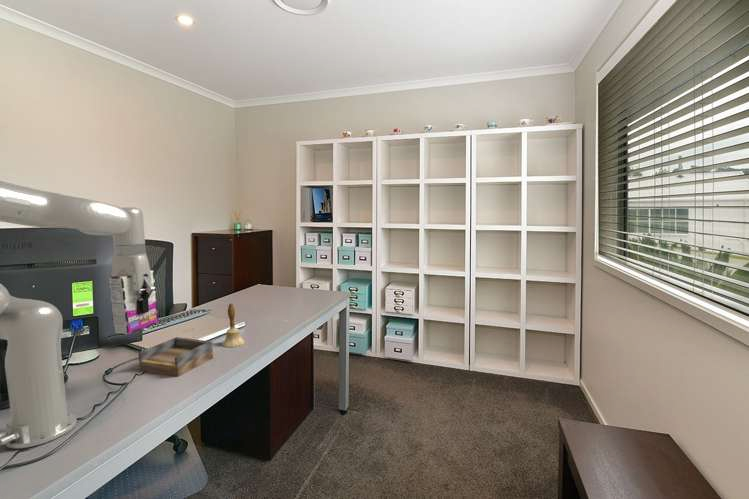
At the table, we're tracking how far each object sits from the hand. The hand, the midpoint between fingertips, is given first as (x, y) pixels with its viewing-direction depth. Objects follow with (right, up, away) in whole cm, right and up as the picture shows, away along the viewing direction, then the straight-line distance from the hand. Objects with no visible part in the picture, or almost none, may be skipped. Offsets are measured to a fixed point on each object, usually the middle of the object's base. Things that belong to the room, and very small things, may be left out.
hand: (135, 311), depth 107 cm
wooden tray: (+3, -21, +17) cm, 27 cm away
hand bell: (+15, -19, +36) cm, 43 cm away
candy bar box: (0, -5, +1) cm, 5 cm away
